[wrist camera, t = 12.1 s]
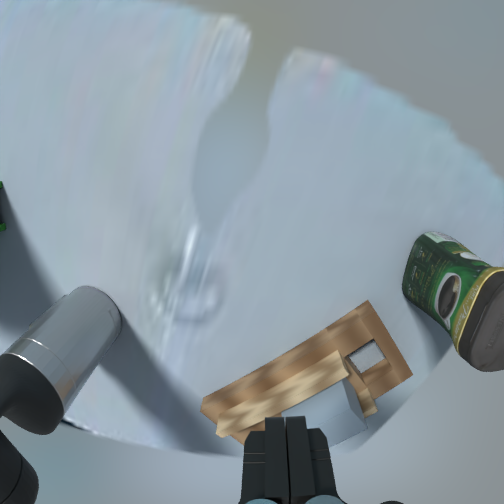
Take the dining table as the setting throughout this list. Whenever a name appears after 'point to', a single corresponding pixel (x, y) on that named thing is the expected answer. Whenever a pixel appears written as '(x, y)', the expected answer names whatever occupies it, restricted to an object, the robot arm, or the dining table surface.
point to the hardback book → (2, 225)
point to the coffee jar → (459, 297)
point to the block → (332, 412)
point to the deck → (309, 375)
